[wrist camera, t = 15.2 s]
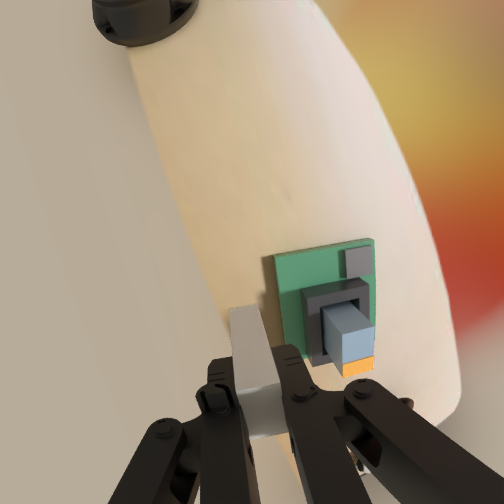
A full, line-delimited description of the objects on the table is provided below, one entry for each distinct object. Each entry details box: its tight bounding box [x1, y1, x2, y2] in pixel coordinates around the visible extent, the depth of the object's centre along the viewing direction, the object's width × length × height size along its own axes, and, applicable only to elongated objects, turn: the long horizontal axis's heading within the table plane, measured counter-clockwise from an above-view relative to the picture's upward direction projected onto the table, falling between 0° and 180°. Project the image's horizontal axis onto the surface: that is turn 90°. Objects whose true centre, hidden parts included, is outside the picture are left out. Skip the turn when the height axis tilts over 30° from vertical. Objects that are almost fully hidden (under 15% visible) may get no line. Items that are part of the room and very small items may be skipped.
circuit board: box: [273, 238, 376, 367], centre depth 40 cm, size 16×14×5 cm
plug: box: [320, 300, 375, 378], centre depth 36 cm, size 6×4×10 cm, turn 9°
